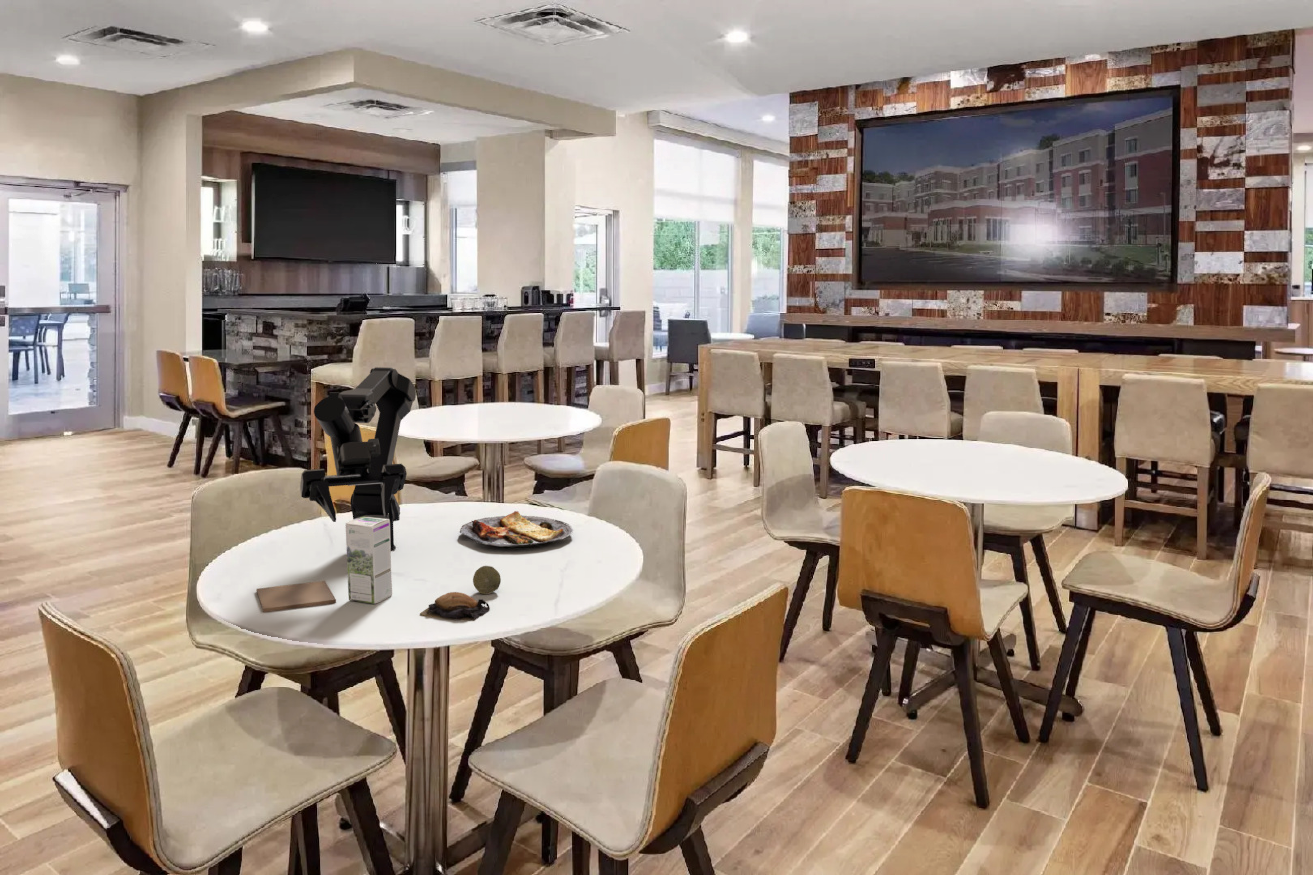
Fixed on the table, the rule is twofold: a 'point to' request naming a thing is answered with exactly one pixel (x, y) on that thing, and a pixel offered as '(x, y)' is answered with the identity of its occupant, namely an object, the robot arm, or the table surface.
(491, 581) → the lime
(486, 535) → the food plate
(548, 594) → the table surface
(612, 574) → the table surface
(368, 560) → the syrup box
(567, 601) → the table surface
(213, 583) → the table surface
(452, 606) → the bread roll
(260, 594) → the plate
